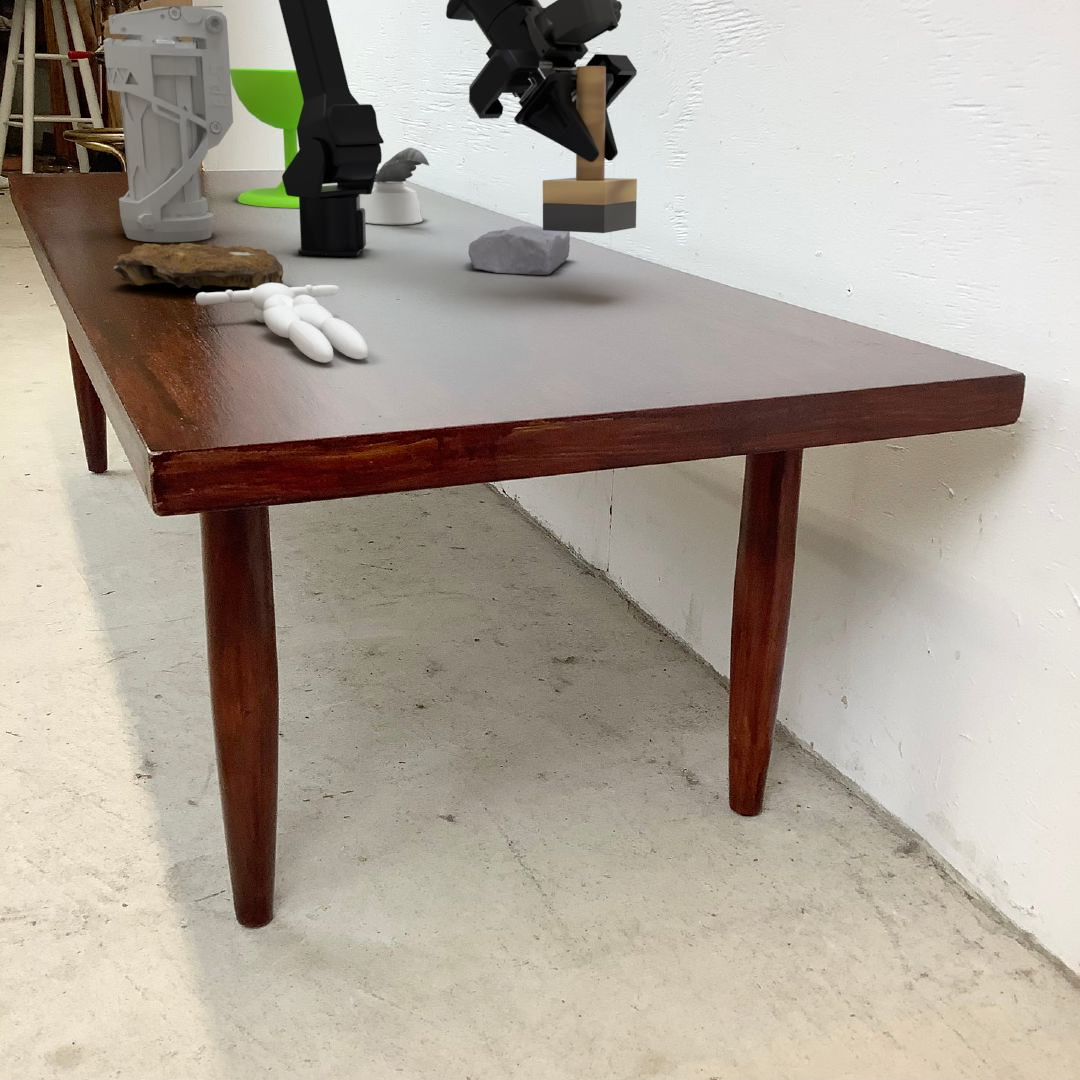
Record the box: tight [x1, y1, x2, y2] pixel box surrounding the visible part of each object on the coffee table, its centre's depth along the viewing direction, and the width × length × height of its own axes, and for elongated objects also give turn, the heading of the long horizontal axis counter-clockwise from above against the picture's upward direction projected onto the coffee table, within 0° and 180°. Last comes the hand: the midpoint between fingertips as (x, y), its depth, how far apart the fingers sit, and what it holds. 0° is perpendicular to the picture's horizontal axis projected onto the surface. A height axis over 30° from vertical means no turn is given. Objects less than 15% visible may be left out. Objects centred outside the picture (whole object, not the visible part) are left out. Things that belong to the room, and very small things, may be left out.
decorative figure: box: [195, 283, 369, 364], centre depth 90 cm, size 4×12×18 cm
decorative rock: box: [113, 242, 284, 290], centre depth 107 cm, size 11×4×15 cm
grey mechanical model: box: [103, 5, 234, 243], centre depth 132 cm, size 13×10×25 cm
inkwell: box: [360, 147, 430, 226], centre depth 151 cm, size 9×18×10 cm, turn 32°
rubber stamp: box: [542, 65, 638, 234], centre depth 105 cm, size 6×6×14 cm
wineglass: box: [230, 68, 304, 209], centre depth 169 cm, size 16×16×18 cm
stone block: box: [468, 225, 571, 276], centre depth 126 cm, size 12×5×10 cm
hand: (604, 158), depth 105 cm, fingers closed on rubber stamp, 2 cm apart
